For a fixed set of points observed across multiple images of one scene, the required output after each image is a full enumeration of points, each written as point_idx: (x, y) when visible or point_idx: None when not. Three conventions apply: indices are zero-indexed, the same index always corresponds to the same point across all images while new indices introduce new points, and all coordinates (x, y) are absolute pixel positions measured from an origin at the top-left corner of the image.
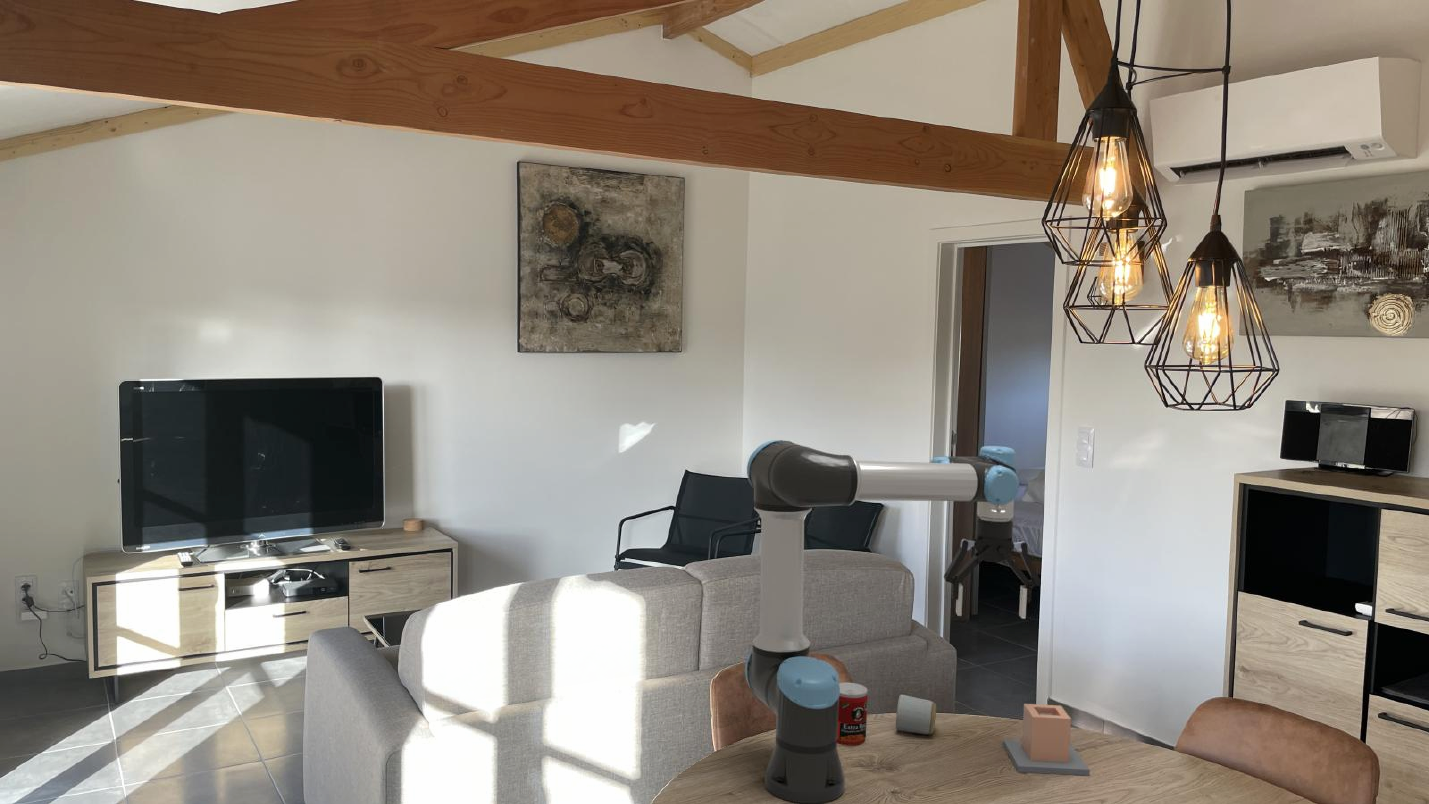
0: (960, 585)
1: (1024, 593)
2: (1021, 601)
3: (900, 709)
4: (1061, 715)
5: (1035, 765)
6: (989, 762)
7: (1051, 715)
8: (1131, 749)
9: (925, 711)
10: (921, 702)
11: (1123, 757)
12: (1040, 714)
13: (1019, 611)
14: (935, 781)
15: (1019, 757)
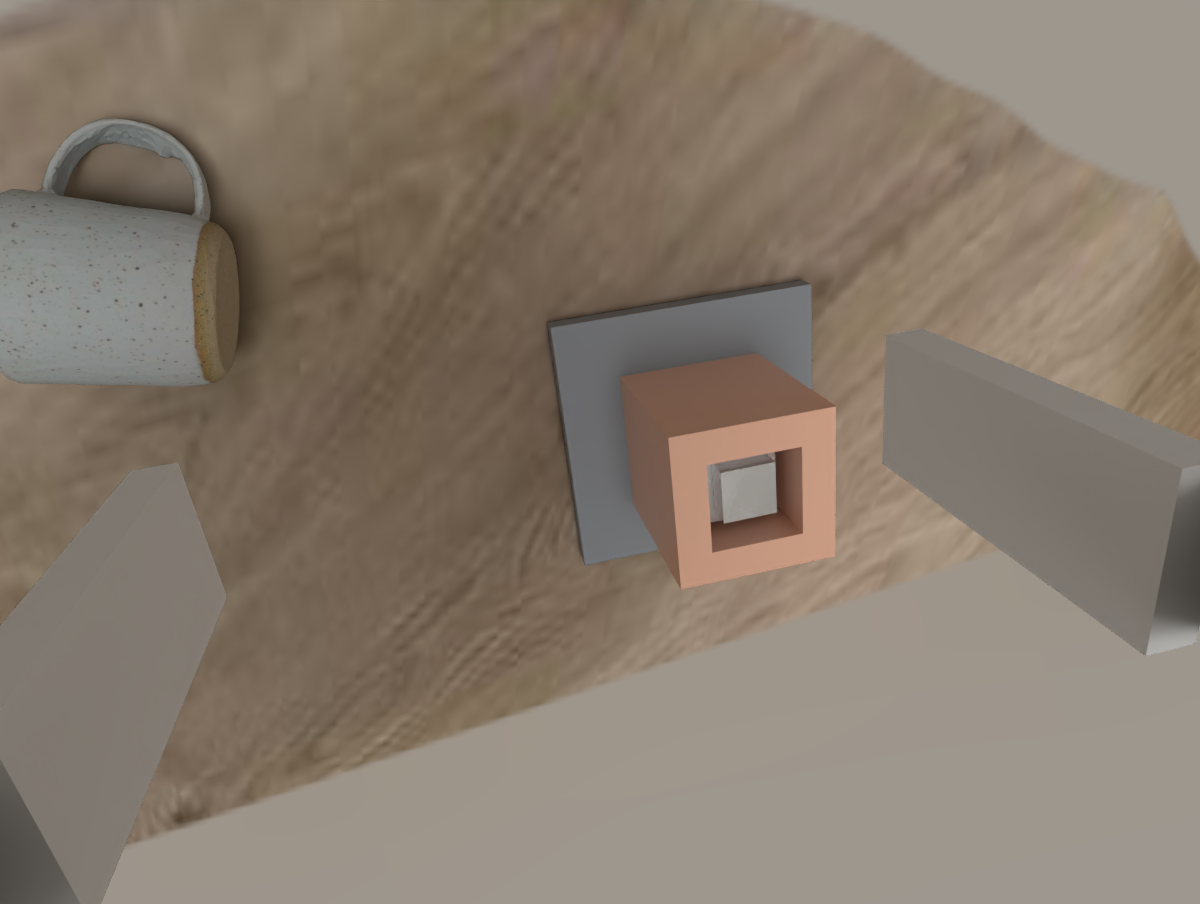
0: (31, 893)
1: (1103, 608)
2: (998, 480)
3: (29, 382)
4: (806, 530)
5: (643, 542)
6: (487, 508)
7: (763, 545)
8: (1023, 225)
9: (172, 381)
10: (129, 346)
11: (966, 315)
12: (723, 497)
13: (912, 362)
14: (306, 710)
15: (597, 492)
